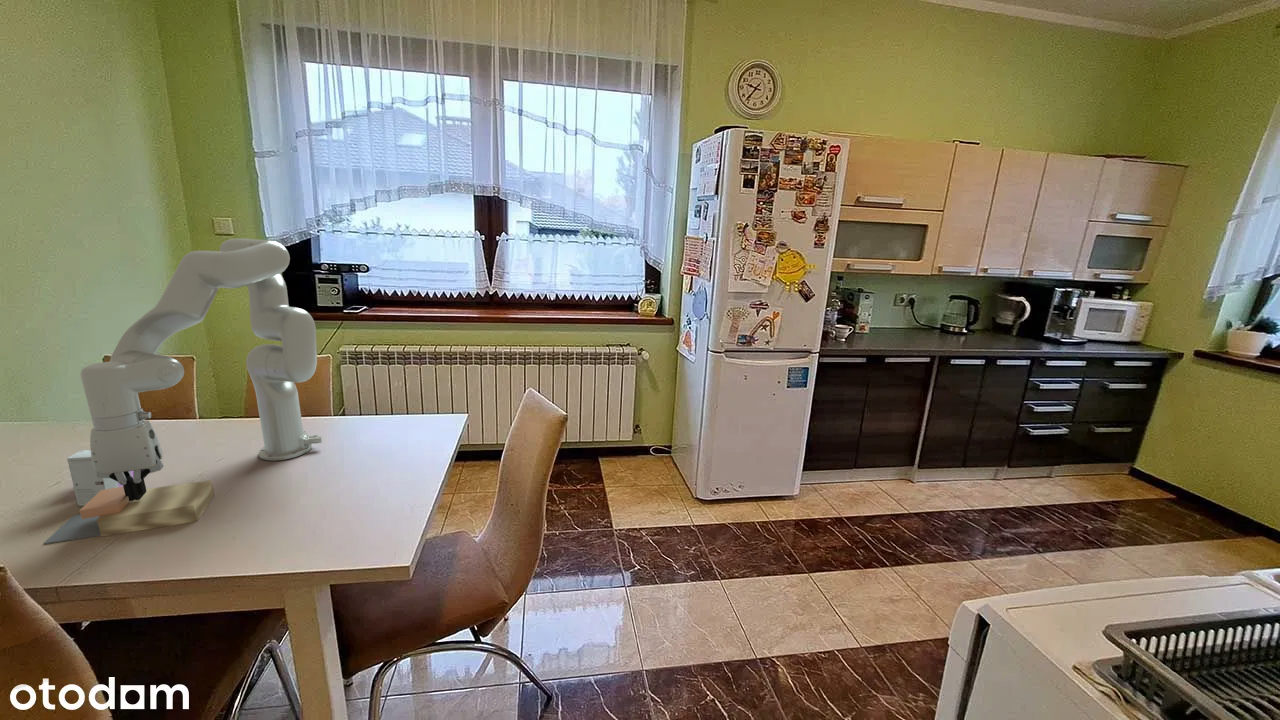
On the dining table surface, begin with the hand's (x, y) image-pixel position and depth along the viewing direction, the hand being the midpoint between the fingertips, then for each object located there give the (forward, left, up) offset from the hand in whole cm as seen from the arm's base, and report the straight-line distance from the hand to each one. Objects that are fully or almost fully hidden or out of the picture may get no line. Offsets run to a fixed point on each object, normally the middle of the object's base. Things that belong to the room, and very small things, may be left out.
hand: (137, 497), depth 114 cm
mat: (+9, 0, -5) cm, 10 cm away
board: (-3, 0, -5) cm, 6 cm away
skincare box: (+12, -12, -5) cm, 18 cm away
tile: (+4, 0, -1) cm, 5 cm away
